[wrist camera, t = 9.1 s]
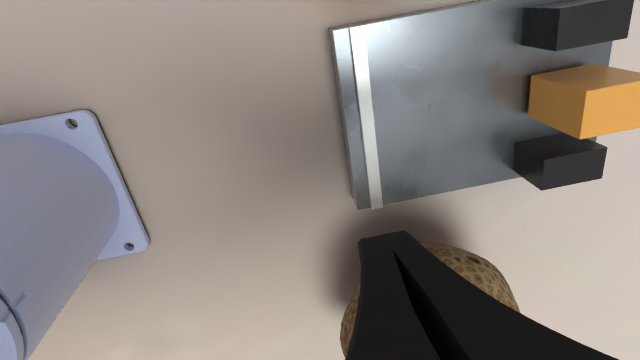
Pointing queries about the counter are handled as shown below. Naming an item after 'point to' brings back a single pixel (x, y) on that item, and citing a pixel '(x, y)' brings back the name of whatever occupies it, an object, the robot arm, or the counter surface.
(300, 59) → the counter surface
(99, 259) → the robot arm
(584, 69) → the block
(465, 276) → the natural sponge
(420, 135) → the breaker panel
